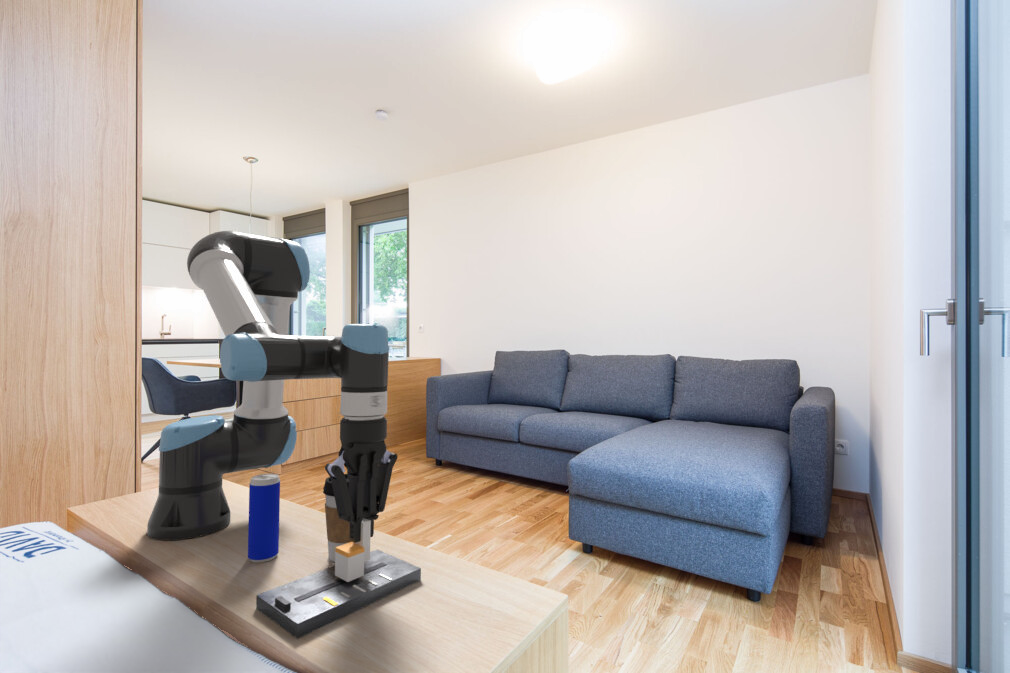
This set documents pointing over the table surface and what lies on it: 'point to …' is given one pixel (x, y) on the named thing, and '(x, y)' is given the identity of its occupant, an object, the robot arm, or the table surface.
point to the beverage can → (263, 517)
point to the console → (334, 594)
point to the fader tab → (349, 561)
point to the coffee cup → (334, 521)
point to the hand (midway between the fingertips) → (361, 559)
